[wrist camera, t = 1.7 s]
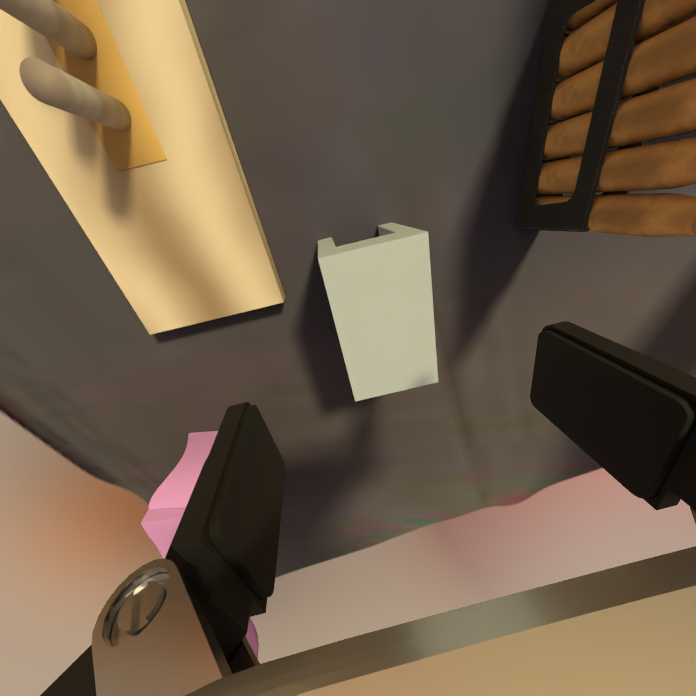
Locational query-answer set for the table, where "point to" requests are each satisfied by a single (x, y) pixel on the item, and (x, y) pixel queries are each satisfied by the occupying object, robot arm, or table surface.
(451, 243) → the table surface
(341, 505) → the table surface
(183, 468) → the toy chair
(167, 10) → the board
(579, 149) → the ammunition clip
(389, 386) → the pale green notched block
